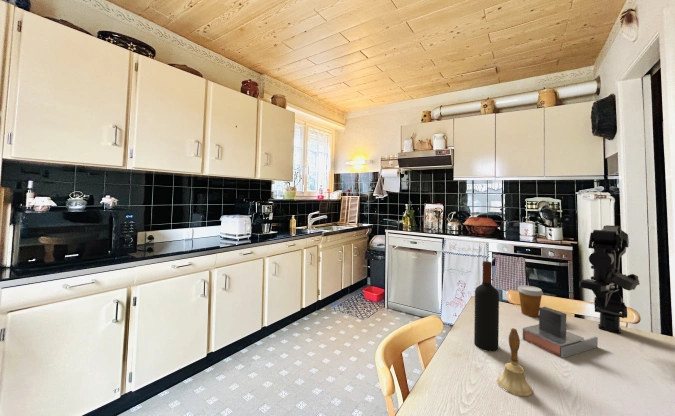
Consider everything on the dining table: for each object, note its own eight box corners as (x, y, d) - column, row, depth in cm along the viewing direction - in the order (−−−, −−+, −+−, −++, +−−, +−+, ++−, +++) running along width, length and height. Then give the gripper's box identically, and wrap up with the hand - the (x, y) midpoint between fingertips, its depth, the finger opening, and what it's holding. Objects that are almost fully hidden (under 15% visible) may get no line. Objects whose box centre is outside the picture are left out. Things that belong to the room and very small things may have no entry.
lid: (544, 324, 105) (545, 302, 105) (584, 339, 93) (584, 314, 93) (522, 329, 100) (522, 306, 100) (560, 346, 89) (561, 320, 89)
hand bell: (519, 400, 69) (520, 339, 69) (490, 381, 77) (490, 325, 77) (539, 391, 73) (540, 332, 72) (509, 373, 80) (510, 320, 80)
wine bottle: (475, 348, 94) (476, 263, 94) (473, 338, 101) (474, 259, 101) (500, 353, 91) (501, 265, 91) (496, 342, 98) (497, 260, 98)
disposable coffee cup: (548, 318, 119) (548, 291, 119) (526, 318, 119) (526, 291, 119) (532, 310, 129) (533, 285, 129) (512, 309, 129) (513, 285, 129)
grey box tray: (555, 330, 108) (555, 321, 108) (597, 347, 95) (597, 337, 95) (522, 339, 101) (522, 329, 101) (562, 358, 89) (563, 347, 89)
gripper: (619, 271, 88) (618, 318, 89) (649, 267, 95) (648, 311, 95) (578, 264, 99) (578, 306, 99) (608, 260, 105) (607, 300, 106)
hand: (603, 306), depth 99 cm, fingers closed
